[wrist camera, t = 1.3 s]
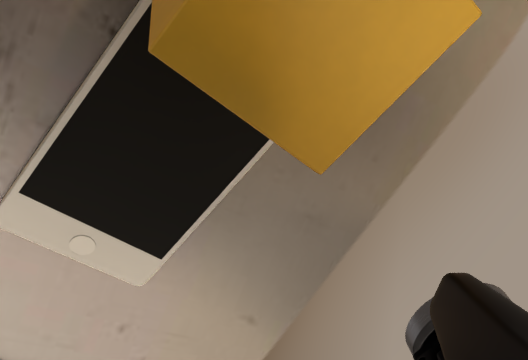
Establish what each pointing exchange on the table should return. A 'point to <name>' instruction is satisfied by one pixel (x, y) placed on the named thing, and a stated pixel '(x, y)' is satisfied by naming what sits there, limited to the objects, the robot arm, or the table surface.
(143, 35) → the smartphone
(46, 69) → the table surface
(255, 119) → the block
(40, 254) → the table surface
